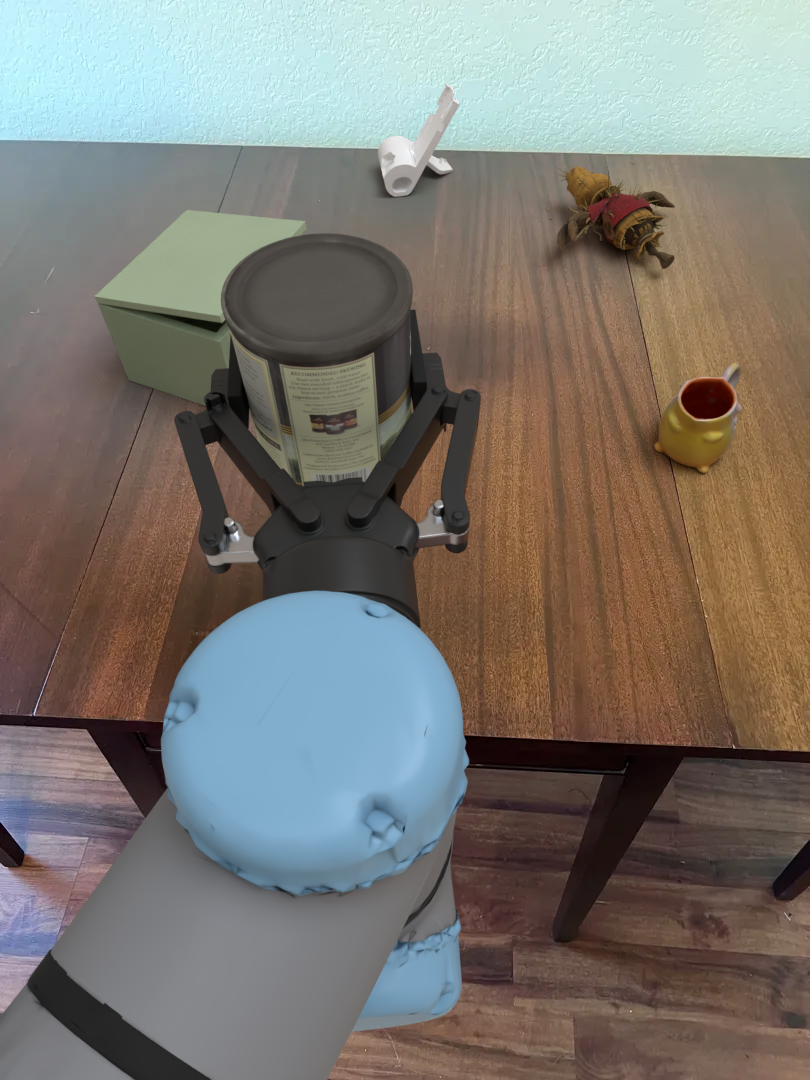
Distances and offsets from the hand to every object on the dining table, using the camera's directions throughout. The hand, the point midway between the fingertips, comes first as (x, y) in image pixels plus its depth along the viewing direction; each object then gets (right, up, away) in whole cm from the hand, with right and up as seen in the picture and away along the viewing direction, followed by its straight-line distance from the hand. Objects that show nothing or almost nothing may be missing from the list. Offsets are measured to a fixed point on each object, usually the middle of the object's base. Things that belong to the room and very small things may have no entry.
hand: (325, 333), depth 50 cm
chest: (-15, +8, +37) cm, 41 cm away
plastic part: (+7, +36, +57) cm, 68 cm away
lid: (-15, +14, +28) cm, 35 cm away
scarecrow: (+31, +25, +49) cm, 62 cm away
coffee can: (+1, -8, +4) cm, 9 cm away
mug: (+35, -2, +29) cm, 46 cm away
